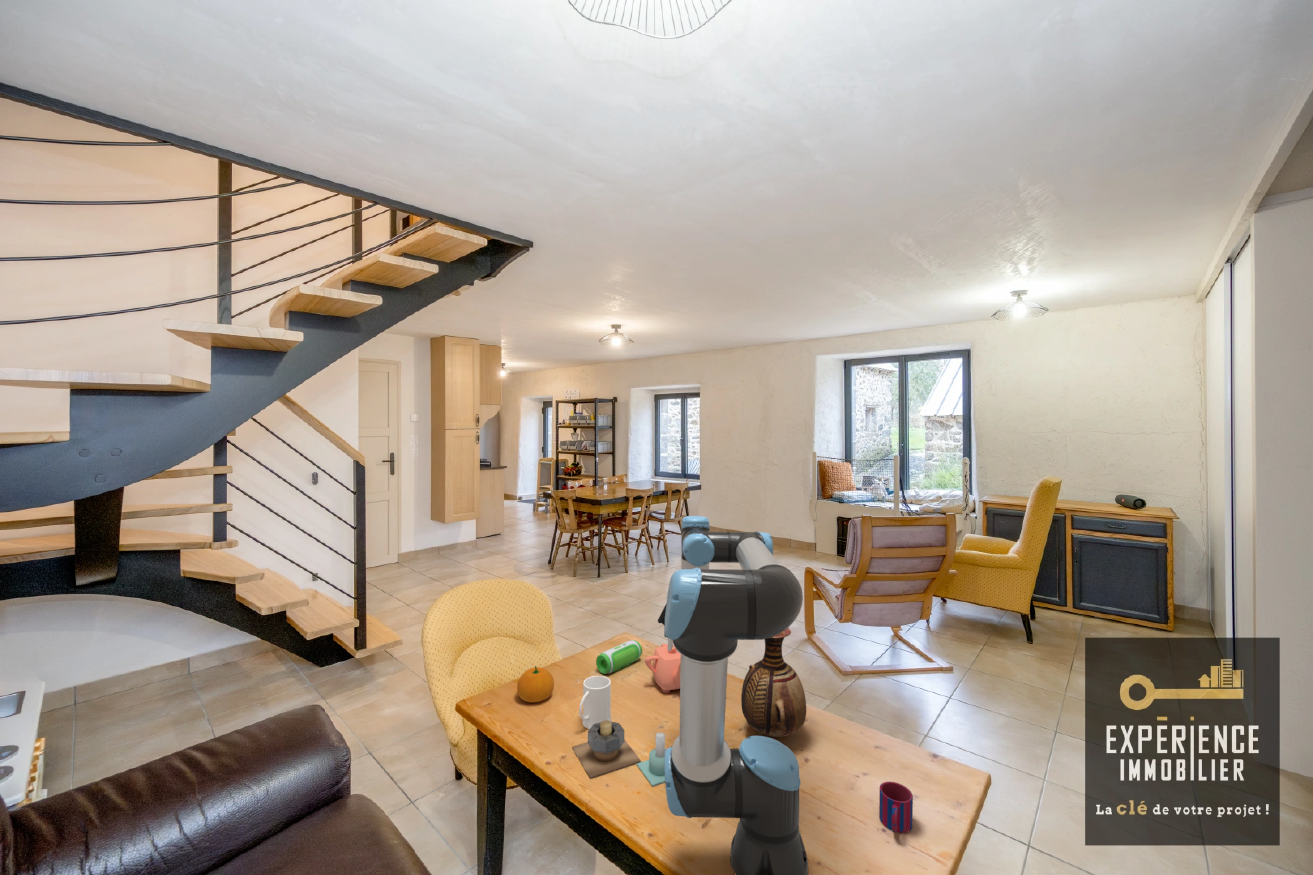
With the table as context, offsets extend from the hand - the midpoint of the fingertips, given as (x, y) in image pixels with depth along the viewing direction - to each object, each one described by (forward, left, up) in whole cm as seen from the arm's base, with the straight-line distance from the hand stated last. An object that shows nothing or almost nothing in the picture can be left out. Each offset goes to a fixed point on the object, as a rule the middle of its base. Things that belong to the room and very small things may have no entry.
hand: (694, 652), depth 140 cm
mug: (+24, +20, -27) cm, 41 cm away
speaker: (+55, -2, -27) cm, 61 cm away
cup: (-43, -25, -27) cm, 57 cm away
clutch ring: (+9, +22, -23) cm, 33 cm away
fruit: (+47, +31, -27) cm, 62 cm away
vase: (-4, -24, -27) cm, 36 cm away
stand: (-3, +12, -27) cm, 29 cm away
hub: (+9, +22, -27) cm, 36 cm away
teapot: (+33, -12, -27) cm, 44 cm away
